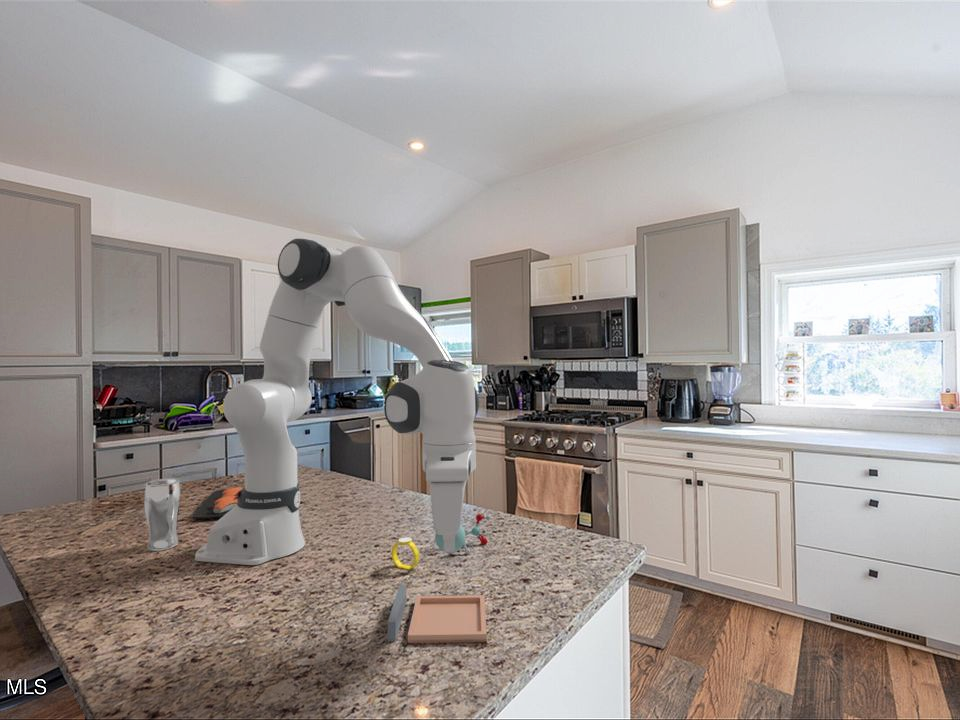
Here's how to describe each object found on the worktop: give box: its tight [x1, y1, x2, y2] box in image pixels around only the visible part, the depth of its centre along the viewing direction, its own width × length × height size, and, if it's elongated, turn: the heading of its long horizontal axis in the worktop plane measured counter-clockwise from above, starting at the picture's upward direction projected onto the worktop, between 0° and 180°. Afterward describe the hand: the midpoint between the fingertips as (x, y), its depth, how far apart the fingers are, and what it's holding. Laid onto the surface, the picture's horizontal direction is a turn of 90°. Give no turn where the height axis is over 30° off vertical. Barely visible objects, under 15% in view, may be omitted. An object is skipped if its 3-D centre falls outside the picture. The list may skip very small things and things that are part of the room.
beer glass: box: [143, 477, 181, 552], centre depth 110 cm, size 7×7×15 cm
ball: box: [434, 525, 467, 554], centre depth 78 cm, size 5×5×5 cm
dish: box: [407, 594, 488, 644], centre depth 78 cm, size 12×12×1 cm
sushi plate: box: [192, 487, 306, 520], centre depth 145 cm, size 29×30×4 cm
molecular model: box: [462, 513, 492, 555], centre depth 110 cm, size 12×10×10 cm
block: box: [387, 584, 407, 643], centre depth 79 cm, size 1×12×3 cm, turn 1°
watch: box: [391, 536, 420, 571], centre depth 99 cm, size 6×3×6 cm, turn 65°
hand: (450, 542), depth 78 cm, fingers closed on ball, 5 cm apart
